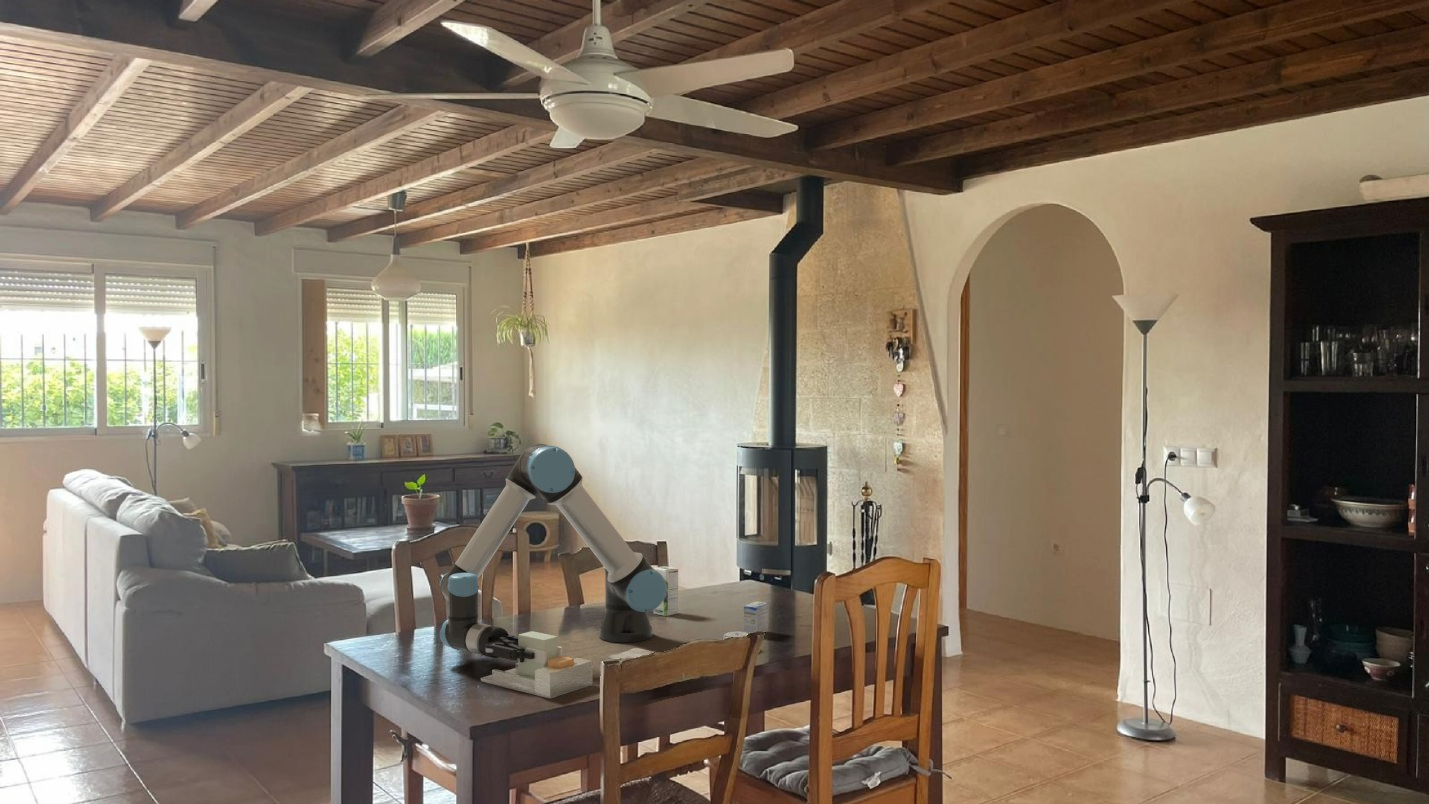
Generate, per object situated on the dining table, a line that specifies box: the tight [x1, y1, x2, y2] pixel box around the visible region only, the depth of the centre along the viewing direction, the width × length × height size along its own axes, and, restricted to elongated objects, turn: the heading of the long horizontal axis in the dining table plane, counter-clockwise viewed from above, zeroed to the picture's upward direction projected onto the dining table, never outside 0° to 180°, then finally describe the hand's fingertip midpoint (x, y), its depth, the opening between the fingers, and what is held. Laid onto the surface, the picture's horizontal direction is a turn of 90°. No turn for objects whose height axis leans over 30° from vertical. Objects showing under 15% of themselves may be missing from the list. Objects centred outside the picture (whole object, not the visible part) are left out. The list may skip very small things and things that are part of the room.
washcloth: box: [606, 647, 655, 660], centre depth 272 cm, size 12×18×3 cm, turn 53°
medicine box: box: [743, 601, 770, 633], centre depth 305 cm, size 8×4×9 cm, turn 152°
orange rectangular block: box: [548, 655, 574, 669], centre depth 250 cm, size 5×4×6 cm
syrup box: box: [653, 566, 679, 617], centre depth 332 cm, size 6×6×14 cm
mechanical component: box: [722, 630, 748, 640], centre depth 288 cm, size 10×4×10 cm
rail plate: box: [480, 657, 594, 700], centre depth 256 cm, size 14×24×6 cm, turn 53°
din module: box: [517, 630, 559, 679], centre depth 255 cm, size 4×9×10 cm, turn 53°
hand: (553, 655), depth 252 cm, fingers closed on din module, 4 cm apart
